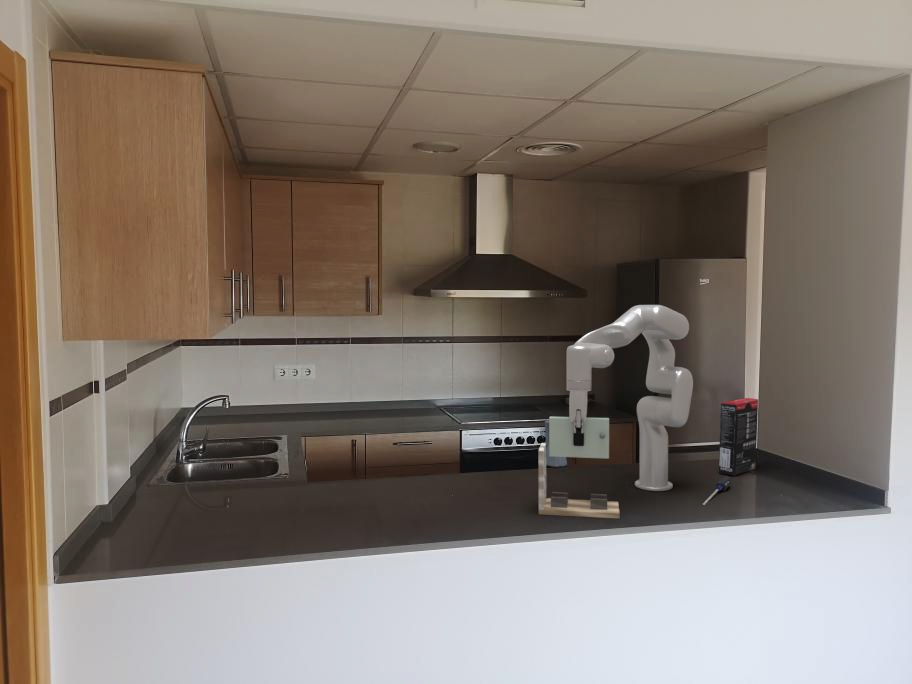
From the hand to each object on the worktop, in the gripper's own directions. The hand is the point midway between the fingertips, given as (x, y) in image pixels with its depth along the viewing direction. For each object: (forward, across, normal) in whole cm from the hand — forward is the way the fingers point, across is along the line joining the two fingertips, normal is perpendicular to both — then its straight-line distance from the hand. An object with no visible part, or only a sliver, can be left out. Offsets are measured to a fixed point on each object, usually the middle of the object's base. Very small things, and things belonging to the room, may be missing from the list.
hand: (578, 444), depth 203 cm
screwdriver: (+21, -24, +44) cm, 55 cm away
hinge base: (+21, 0, 0) cm, 21 cm away
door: (+4, 0, 0) cm, 4 cm away
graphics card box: (+21, -57, +58) cm, 84 cm away
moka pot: (+21, -56, -10) cm, 61 cm away
